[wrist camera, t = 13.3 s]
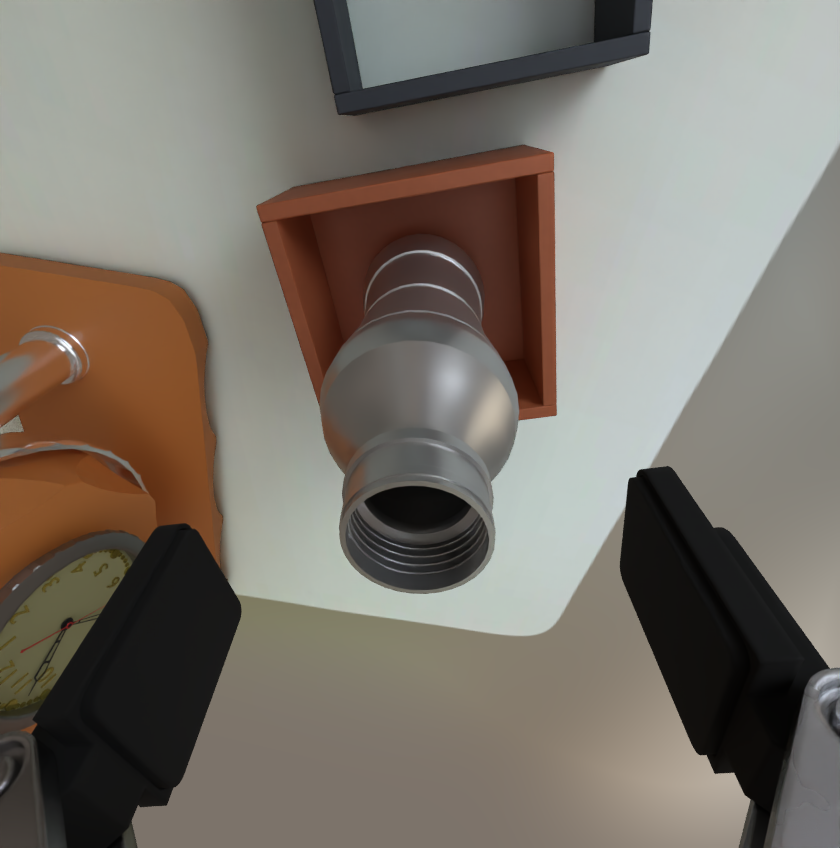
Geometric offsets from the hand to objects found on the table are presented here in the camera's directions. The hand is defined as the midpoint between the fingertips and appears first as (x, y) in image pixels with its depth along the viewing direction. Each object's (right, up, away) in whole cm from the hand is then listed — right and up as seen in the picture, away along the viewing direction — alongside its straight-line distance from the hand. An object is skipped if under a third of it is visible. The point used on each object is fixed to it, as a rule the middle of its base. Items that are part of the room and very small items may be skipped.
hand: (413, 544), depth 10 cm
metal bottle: (0, +11, +17) cm, 21 cm away
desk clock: (-21, 0, +26) cm, 33 cm away
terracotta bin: (0, +11, +18) cm, 21 cm away
